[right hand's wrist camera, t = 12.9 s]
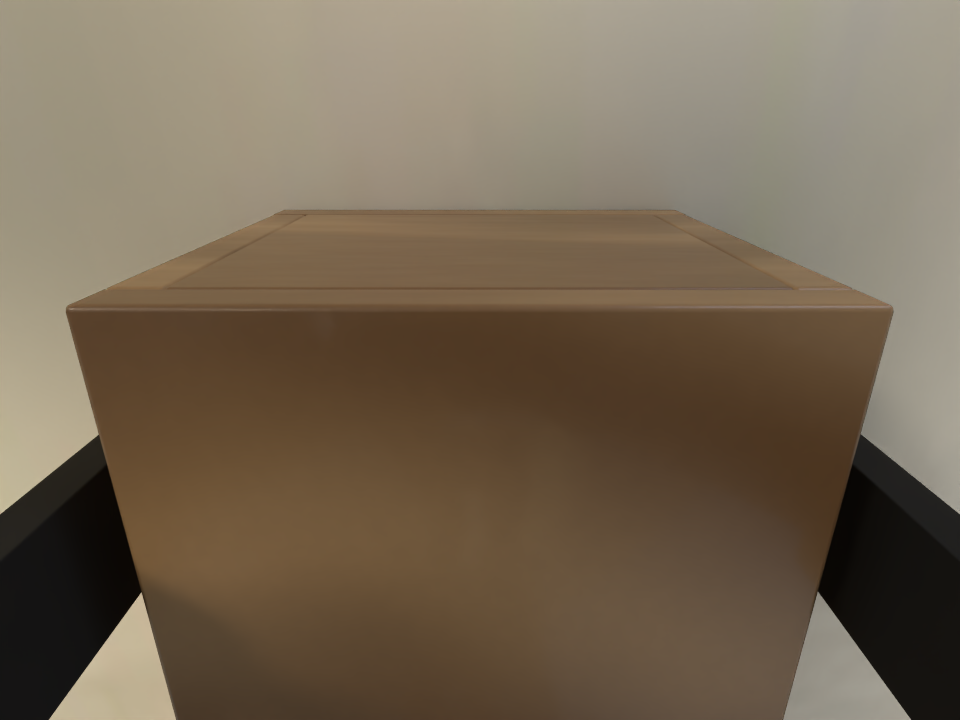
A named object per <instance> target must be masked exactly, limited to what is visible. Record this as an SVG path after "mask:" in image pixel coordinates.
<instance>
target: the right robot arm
mask: <svg viewBox="0 0 960 720" xmlns="http://www.w3.org/2000/svg"><path fill="white" fill-rule="evenodd" d="M141 592H142V591H141V588H140V584H139V580H138V577H137V573H136V569H135V565H134V562H133V558H132V554H131V551H130V547H129V543H128V540H127V536H126V532H125V529H124V525H123V521H122V517H121V514H120V510H119V506H118V503H117V499H116V495H115V492H114V488H113V484H112V481H111V477H110V473H109V469H108V466H107V462H106V458H105V455H104V451H103V447H102V444H101V440H100V436H99V435H98V436H97V437H95V438H94V439H93V440H92V441H90V442H89V443H88V444H87V445H86V446H84V447H83V448H82V449H81V450H79V451H78V452H77V453H76V454H74V455H73V456H72V457H71V458H69V459H68V460H67V461H66V462H65V463H63V464H62V465H61V466H60V467H58V468H57V469H56V470H55V471H53V472H52V473H51V474H50V475H48V476H47V477H46V478H45V479H44V480H42V481H41V482H40V483H39V484H37V485H36V486H35V487H34V488H32V489H31V490H30V491H29V492H27V493H26V494H25V495H24V496H23V497H21V498H20V499H19V500H18V501H16V502H15V503H14V504H13V505H11V506H10V507H9V508H8V509H6V510H5V511H4V512H3V513H2V514H0V720H49V719H50V717H51V716H52V714H53V713H54V712H55V710H56V709H57V708H58V706H59V705H60V703H61V702H62V701H63V699H64V698H65V697H66V695H67V694H68V692H69V691H70V690H71V688H72V687H73V686H74V684H75V683H76V681H77V680H78V679H79V677H80V676H81V675H82V673H83V672H84V670H85V669H86V668H87V666H88V665H89V664H90V662H91V661H92V659H93V658H94V657H95V655H96V654H97V653H98V651H99V650H100V648H101V647H102V646H103V644H104V643H105V642H106V640H107V639H108V637H109V636H110V635H111V633H112V632H113V630H114V629H115V628H116V626H117V625H118V624H119V622H120V621H121V619H122V618H123V617H124V615H125V614H126V613H127V611H128V610H129V608H130V607H131V606H132V604H133V603H134V602H135V600H136V599H137V597H138V596H139V595H140V593H141ZM818 592H819V593H820V595H821V596H822V597H823V599H824V600H825V602H826V603H827V604H828V606H829V607H830V608H831V610H832V611H833V613H834V614H835V615H836V617H837V618H838V619H839V621H840V622H841V624H842V625H843V626H844V628H845V629H846V630H847V632H848V633H849V635H850V636H851V637H852V639H853V640H854V641H855V643H856V644H857V646H858V647H859V648H860V650H861V651H862V653H863V654H864V655H865V657H866V658H867V659H868V661H869V662H870V664H871V665H872V666H873V668H874V669H875V670H876V672H877V673H878V675H879V676H880V677H881V679H882V680H883V681H884V683H885V684H886V686H887V687H888V688H889V690H890V691H891V692H892V694H893V695H894V697H895V698H896V699H897V701H898V702H899V703H900V705H901V706H902V708H903V709H904V710H905V712H906V713H907V714H908V716H909V717H910V719H911V720H960V514H958V513H957V512H956V511H955V510H954V509H952V508H951V507H950V506H949V505H947V504H946V503H945V502H944V501H942V500H941V499H940V498H939V497H937V496H936V495H935V494H934V493H933V492H931V491H930V490H929V489H928V488H926V487H925V486H924V485H923V484H921V483H920V482H919V481H918V480H916V479H915V478H914V477H913V476H912V475H910V474H909V473H908V472H907V471H905V470H904V469H903V468H902V467H900V466H899V465H898V464H897V463H895V462H894V461H893V460H892V459H891V458H889V457H888V456H887V455H886V454H884V453H883V452H882V451H881V450H879V449H878V448H877V447H876V446H874V445H873V444H872V443H871V442H870V441H868V440H867V439H866V438H865V437H863V436H862V435H861V434H860V437H859V441H858V445H857V448H856V452H855V456H854V459H853V463H852V467H851V470H850V474H849V478H848V482H847V485H846V489H845V493H844V496H843V500H842V504H841V507H840V511H839V515H838V518H837V522H836V526H835V530H834V533H833V537H832V541H831V544H830V548H829V552H828V555H827V559H826V563H825V566H824V570H823V574H822V577H821V581H820V585H819V589H818Z"/></svg>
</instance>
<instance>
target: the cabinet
mask: <svg viewBox="0 0 960 720" xmlns="http://www.w3.org/2000/svg"><path fill="white" fill-rule="evenodd" d="M66 314H67V318H68V322H69V325H70V329H71V333H72V337H73V340H74V344H75V348H76V351H77V355H78V359H79V362H80V366H81V370H82V373H83V377H84V381H85V385H86V388H87V392H88V396H89V399H90V403H91V407H92V410H93V414H94V418H95V421H96V425H97V429H98V433H99V436H100V440H101V444H102V447H103V451H104V455H105V458H106V462H107V466H108V469H109V473H110V477H111V481H112V484H113V488H114V492H115V495H116V499H117V503H118V506H119V510H120V514H121V517H122V521H123V525H124V529H125V532H126V536H127V540H128V543H129V547H130V551H131V554H132V558H133V562H134V565H135V569H136V573H137V577H138V580H139V584H140V588H141V591H142V595H143V599H144V602H145V606H146V610H147V613H148V617H149V621H150V625H151V628H152V632H153V636H154V639H155V643H156V647H157V650H158V654H159V658H160V661H161V665H162V669H163V673H164V676H165V680H166V684H167V687H168V691H169V695H170V698H171V702H172V706H173V709H174V713H175V717H176V720H783V718H784V714H785V710H786V707H787V703H788V699H789V695H790V692H791V688H792V684H793V681H794V677H795V673H796V670H797V666H798V662H799V659H800V655H801V651H802V648H803V644H804V640H805V636H806V633H807V629H808V625H809V622H810V618H811V614H812V611H813V607H814V603H815V600H816V596H817V592H818V589H819V585H820V581H821V577H822V574H823V570H824V566H825V563H826V559H827V555H828V552H829V548H830V544H831V541H832V537H833V533H834V530H835V526H836V522H837V518H838V515H839V511H840V507H841V504H842V500H843V496H844V493H845V489H846V485H847V482H848V478H849V474H850V470H851V467H852V463H853V459H854V456H855V452H856V448H857V445H858V441H859V437H860V434H861V430H862V426H863V423H864V419H865V415H866V411H867V408H868V404H869V400H870V397H871V393H872V389H873V386H874V382H875V378H876V375H877V371H878V367H879V364H880V360H881V356H882V352H883V349H884V345H885V341H886V338H887V334H888V330H889V327H890V323H891V319H892V316H893V307H892V306H891V305H889V304H886V303H884V302H882V301H879V300H877V299H875V298H873V297H870V296H868V295H866V294H864V293H861V292H859V291H857V290H852V288H850V287H848V286H846V285H843V284H841V283H839V282H836V281H834V280H832V279H830V278H827V277H825V276H823V275H820V274H818V273H816V272H814V271H811V270H809V269H807V268H804V267H802V266H800V265H798V264H795V263H793V262H791V261H789V260H786V259H784V258H782V257H779V256H777V255H775V254H773V253H770V252H768V251H766V250H763V249H761V248H759V247H757V246H754V245H752V244H750V243H747V242H745V241H743V240H741V239H738V238H736V237H734V236H732V235H729V234H727V233H725V232H722V231H720V230H718V229H716V228H713V227H711V226H709V225H706V224H704V223H702V222H700V221H697V220H695V219H693V218H690V217H688V216H686V215H685V214H683V213H680V212H678V211H676V210H283V211H281V212H279V213H277V214H274V215H273V216H271V217H269V218H266V219H264V220H262V221H260V222H257V223H255V224H253V225H250V226H248V227H246V228H244V229H241V230H239V231H237V232H234V233H232V234H230V235H228V236H225V237H223V238H221V239H218V240H216V241H214V242H212V243H209V244H207V245H205V246H202V247H200V248H198V249H196V250H193V251H191V252H189V253H186V254H184V255H182V256H180V257H177V258H175V259H173V260H170V261H168V262H166V263H164V264H161V265H159V266H157V267H154V268H152V269H150V270H148V271H145V272H143V273H141V274H138V275H136V276H134V277H132V278H129V279H127V280H125V281H122V282H120V283H118V284H116V285H113V286H111V287H109V288H107V290H102V291H100V292H98V293H95V294H93V295H91V296H88V297H86V298H84V299H82V300H79V301H77V302H75V303H72V304H70V305H68V306H67V308H66Z"/></svg>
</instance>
